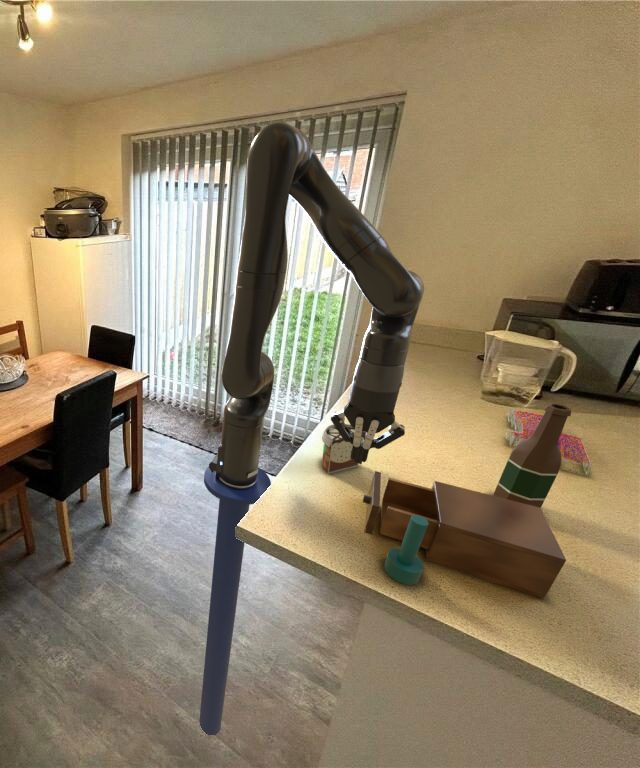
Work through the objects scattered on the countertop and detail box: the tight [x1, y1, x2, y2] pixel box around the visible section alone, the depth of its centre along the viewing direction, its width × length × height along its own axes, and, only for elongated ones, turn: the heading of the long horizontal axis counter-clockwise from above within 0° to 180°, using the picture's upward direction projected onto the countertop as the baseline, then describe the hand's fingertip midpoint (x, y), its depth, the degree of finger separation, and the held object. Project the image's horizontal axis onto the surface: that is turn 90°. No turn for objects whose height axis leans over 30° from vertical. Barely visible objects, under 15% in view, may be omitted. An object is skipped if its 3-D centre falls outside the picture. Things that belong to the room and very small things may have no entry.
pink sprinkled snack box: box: [505, 408, 593, 477], centre depth 106 cm, size 30×15×5 cm, turn 139°
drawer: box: [362, 470, 439, 550], centre depth 77 cm, size 16×13×7 cm
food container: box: [321, 423, 366, 474], centre depth 98 cm, size 12×6×10 cm, turn 108°
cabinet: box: [425, 480, 567, 600], centre depth 72 cm, size 16×14×9 cm
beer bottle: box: [492, 403, 572, 509], centre depth 80 cm, size 8×8×24 cm
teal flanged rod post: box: [383, 515, 428, 586], centre depth 67 cm, size 5×5×12 cm
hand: (357, 461), depth 79 cm, fingers closed
